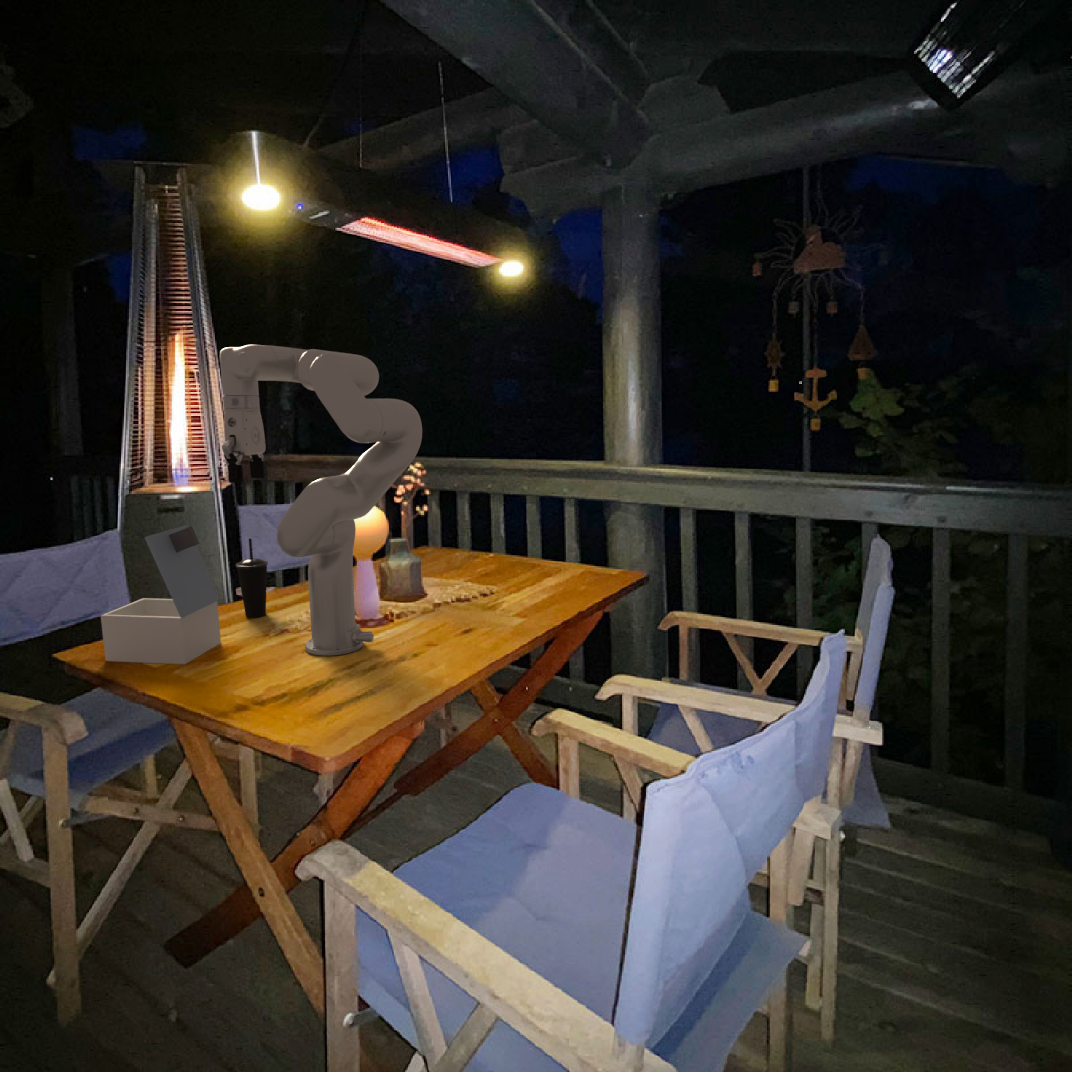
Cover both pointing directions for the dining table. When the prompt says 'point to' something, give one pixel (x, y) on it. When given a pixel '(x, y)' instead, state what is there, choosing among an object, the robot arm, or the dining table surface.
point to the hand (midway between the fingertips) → (247, 480)
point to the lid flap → (183, 569)
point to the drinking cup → (253, 584)
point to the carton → (159, 632)
